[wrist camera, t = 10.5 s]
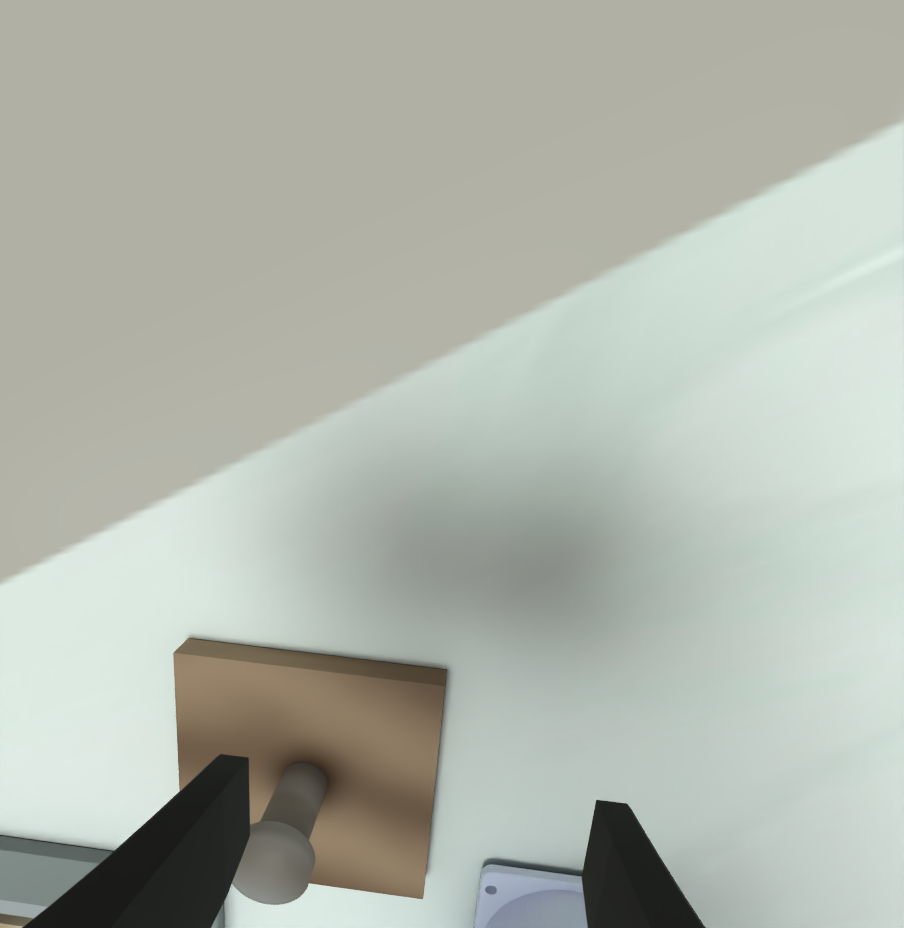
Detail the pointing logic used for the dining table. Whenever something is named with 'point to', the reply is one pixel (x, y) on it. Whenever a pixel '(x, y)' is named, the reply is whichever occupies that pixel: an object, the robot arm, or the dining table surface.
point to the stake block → (317, 762)
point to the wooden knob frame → (13, 921)
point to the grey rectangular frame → (45, 874)
